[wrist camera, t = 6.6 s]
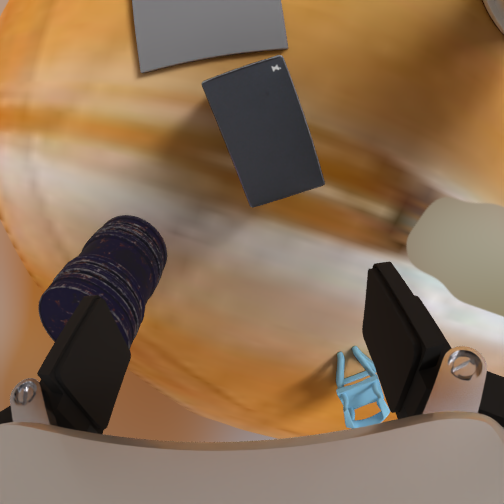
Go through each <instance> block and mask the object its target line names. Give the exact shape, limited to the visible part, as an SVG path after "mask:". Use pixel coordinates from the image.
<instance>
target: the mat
mask: <svg viewBox="0 0 504 504" xmlns="http://www.w3.org/2000/svg"><path fill="white" fill-rule="evenodd" d="M132 5H133V15H134V24H135V33H136V41H137V49H138V56H139V63H140V70H141V73H146V72H150V71H154V70H158V69H162V68H166V67H170V66H174V65H179V64H183V63H188V62H193V61H198V60H203V59H209V58H215V57H221V56H227V55H234V54H242V53H250V52H259V51H270V50H283V49H288V43H287V36H286V30H285V23H284V17H283V11H282V4H281V0H132Z"/></svg>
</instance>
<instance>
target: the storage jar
mask: <svg viewBox="0 0 504 504" xmlns="http://www.w3.org/2000/svg"><path fill="white" fill-rule="evenodd" d="M166 260H167V250H166V246H165V243H164V240H163V238H162V237H161V235H160V234H159V232H158V231H157V230H156V229H155V228H154V227H153V226H152V225H151V224H150V223H148V222H146V221H145V220H143V219H141V218H138V217H135V216H129V215H123V216H117V217H115V218H112V219H111V220H109V221H108V222H107V223H106V224H105V225H104V226H103V227H102V228H100V229H99V230H98V231H97V232H96V233H95V234H94V235H93V236H92V237H91V238H90V239H89V240H88V242H87V243H86V244H85V246H84V247H83V250H82V252H81V253H80V254H79V256H78V257H76V258H74V259H73V260H71V261H70V262H68V263H67V264H66V265H65V266H64V268H63V269H62V270H61V271H60V273H59V274H58V275H57V276H56V277H55V278H54V280H53V282H52V284H51V285H50V286H49V288H48V289H47V290H46V291H45V292H44V294H43V295H42V296H41V299H40V301H39V315H40V319H41V322H42V324H43V326H44V328H45V330H46V331H47V333H48V334H49V336H50V337H51V338H52V339H53V340H54V342H56V340H57V338H58V337H59V335H60V333H61V332H62V330H63V328H64V327H65V325H66V324H67V322H68V320H69V319H70V317H71V316H72V314H73V313H74V311H75V310H76V308H77V306H78V305H79V303H80V302H81V300H82V299H83V298H84V297H85V296H92V295H99V296H100V297H101V298H102V299H104V300H105V301H106V303H107V305H108V307H109V309H110V312H111V314H112V316H113V318H114V320H115V322H116V324H117V326H118V328H119V330H120V332H121V334H122V336H123V338H124V340H125V342H126V344H127V346H128V348H129V350H130V347H131V344H132V342H133V340H134V338H135V337H136V335H137V332H138V330H139V327H140V324H141V322H142V320H143V317H144V312H145V305H146V303H147V300H148V299H149V298H150V297H151V295H152V294H153V292H154V290H155V288H156V286H157V285H158V283H159V280H160V278H161V275H162V271H163V269H164V267H165V264H166Z"/></svg>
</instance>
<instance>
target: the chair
mask: <svg viewBox="0 0 504 504" xmlns="http://www.w3.org/2000/svg"><path fill="white" fill-rule="evenodd" d="M352 350H353V354H354V356H355V357H356V358H357V359H358V361H359V362H360V363H361V365H362V366H363V367H364V368H365V370H366V371H364V372H361V373H359V374H356V375H353V376H351V377H348V378H345V379H344V363H345V359H344V355H343V353H342V352H338V353H337V358H338V362H337V372H336V383H337V386H338V389H337V390H336V391H337V395H338V397H339V398H340V400H341V402H342V404H343V406H344V407H343V410H344V416H345V424H346V427H348V428H352V429H354V428H359V427H364V426H369V425H374V424H378V423H381V422H382V421H383V420H384V419H385V418H386V417H387V416H388V414H389V413H390V410H389V408H388V406H387V404H386V403H385V401H384V396H383V393H382V389H381V386H380V382H379V379H378V376H377V375H376V374H375V373H376V369H375V366H374V364H373V361H372V360H370V359H369V358H368V357H367V356H366V355H365V354H363V353H362V352H361V351H360V350H359V348H358V347H357V346H354V347H353V348H352ZM368 375H370V377H369V378H367V379H365V380H363V381H361V382H359V383H356V384H353V385H350V386H346V387H344V384H347V383H350V382H352V381H355V380H358V379H360V378H363V377H366V376H368ZM376 401H377V405H378V407H379V408H380V409H381V412H379V413H378V414H376V415H374V416H372V417H370V418H367V419H363V420H357V421H355V412H354V409H357V408H359V407H361V406H364V405H367V404H369V403H373V402H376Z"/></svg>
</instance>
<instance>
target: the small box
mask: <svg viewBox="0 0 504 504" xmlns="http://www.w3.org/2000/svg"><path fill="white" fill-rule="evenodd" d="M202 87H203V89H204V92H205V94H206V97H207V99H208V101H209V104H210V106H211V109H212V111H213V114H214V116H215V119H216V121H217V124H218V126H219V129H220V131H221V133H222V136H223V138H224V141H225V143H226V146H227V148H228V151H229V153H230V156H231V159H232V161H233V164H234V166H235V169H236V171H237V174H238V176H239V179H240V181H241V184H242V187H243V189H244V192H245V194H246V197H247V199H248V202H249V205H250V207H256V206H260V205H264V204H267V203H270V202H273V201H276V200H279V199H282V198H286V197H289V196H291V195H295V194H298V193H301V192H304V191H308V190H311V189H314V188H317V187H320V186H323V185H325V181H324V178H323V174H322V171H321V167H320V164H319V160H318V157H317V154H316V151H315V147H314V144H313V140H312V137H311V134H310V131H309V128H308V125H307V122H306V119H305V116H304V113H303V110H302V107H301V104H300V101H299V98H298V95H297V93H296V90H295V87H294V84H293V81H292V79H291V76H290V73H289V71H288V68H287V65H286V63H285V60H284V58H283V56H281V55H277V56H274V57H271V58H268V59H264V60H261V61H258V62H255V63H252V64H249V65H246V66H243V67H240V68H237V69H234V70H231V71H229V72H226V73H223V74H221V75H218V76H215V77H213V78H210V79H208V80H205V81H203V82H202Z"/></svg>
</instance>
